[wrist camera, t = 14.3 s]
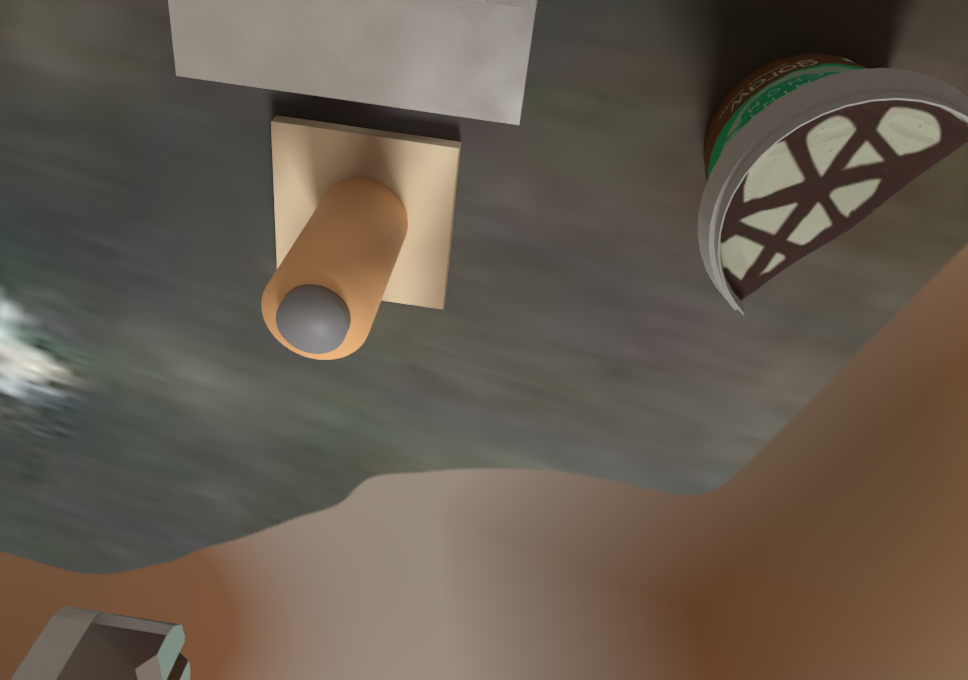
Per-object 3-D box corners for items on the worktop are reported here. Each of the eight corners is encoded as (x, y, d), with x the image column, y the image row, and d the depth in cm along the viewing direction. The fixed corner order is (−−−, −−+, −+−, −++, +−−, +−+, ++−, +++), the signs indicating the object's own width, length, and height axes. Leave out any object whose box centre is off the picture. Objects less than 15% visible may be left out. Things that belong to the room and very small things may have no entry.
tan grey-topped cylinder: (410, 184, 42) (368, 283, 33) (405, 265, 45) (365, 376, 36) (319, 171, 42) (252, 267, 33) (320, 253, 45) (258, 361, 36)
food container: (839, -36, 35) (921, 6, 27) (912, 63, 37) (1009, 131, 29) (628, 147, 41) (642, 230, 32) (702, 225, 43) (732, 322, 34)
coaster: (461, 141, 41) (458, 148, 41) (445, 301, 47) (443, 309, 46) (277, 115, 42) (270, 121, 41) (283, 276, 47) (277, 284, 46)
